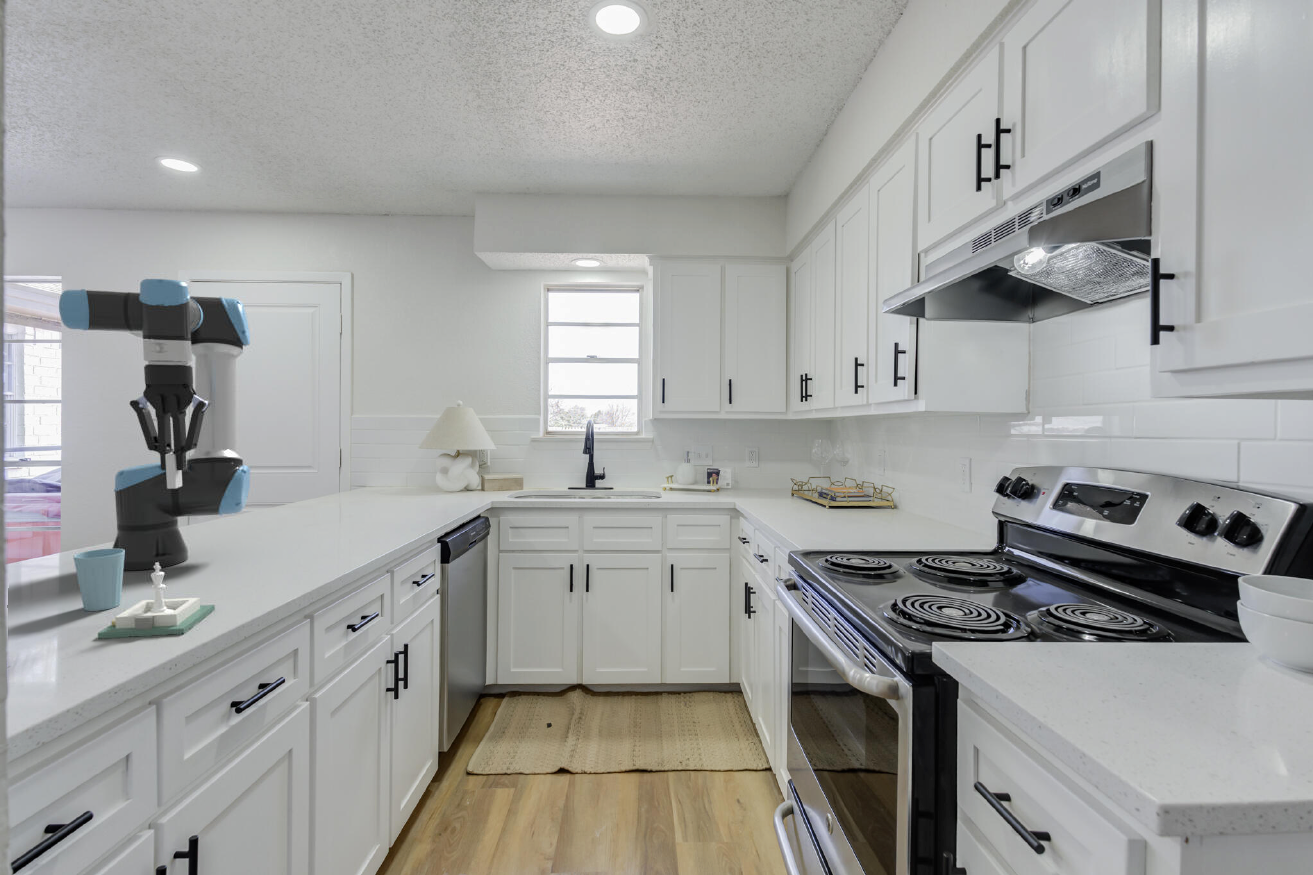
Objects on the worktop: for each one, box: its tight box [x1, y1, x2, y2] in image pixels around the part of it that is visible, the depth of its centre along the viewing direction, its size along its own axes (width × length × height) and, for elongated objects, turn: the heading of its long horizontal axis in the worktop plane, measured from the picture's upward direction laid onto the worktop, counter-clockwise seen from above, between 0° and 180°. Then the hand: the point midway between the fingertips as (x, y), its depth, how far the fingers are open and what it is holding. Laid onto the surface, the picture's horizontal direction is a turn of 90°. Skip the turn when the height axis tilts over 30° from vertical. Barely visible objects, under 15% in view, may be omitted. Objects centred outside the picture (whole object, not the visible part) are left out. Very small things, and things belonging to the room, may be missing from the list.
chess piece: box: [146, 563, 174, 614], centre depth 127 cm, size 5×5×10 cm
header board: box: [97, 597, 216, 639], centre depth 127 cm, size 13×13×3 cm
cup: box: [73, 548, 125, 612], centre depth 136 cm, size 8×8×10 cm
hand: (174, 487), depth 136 cm, fingers closed
